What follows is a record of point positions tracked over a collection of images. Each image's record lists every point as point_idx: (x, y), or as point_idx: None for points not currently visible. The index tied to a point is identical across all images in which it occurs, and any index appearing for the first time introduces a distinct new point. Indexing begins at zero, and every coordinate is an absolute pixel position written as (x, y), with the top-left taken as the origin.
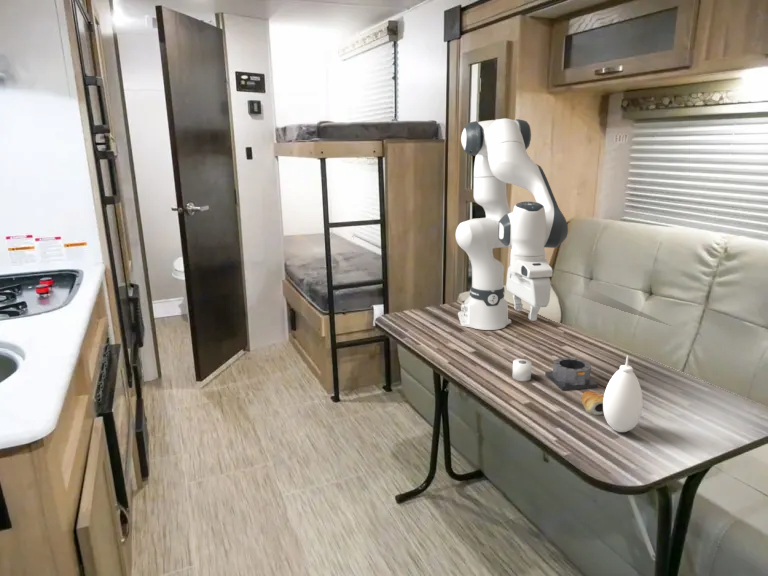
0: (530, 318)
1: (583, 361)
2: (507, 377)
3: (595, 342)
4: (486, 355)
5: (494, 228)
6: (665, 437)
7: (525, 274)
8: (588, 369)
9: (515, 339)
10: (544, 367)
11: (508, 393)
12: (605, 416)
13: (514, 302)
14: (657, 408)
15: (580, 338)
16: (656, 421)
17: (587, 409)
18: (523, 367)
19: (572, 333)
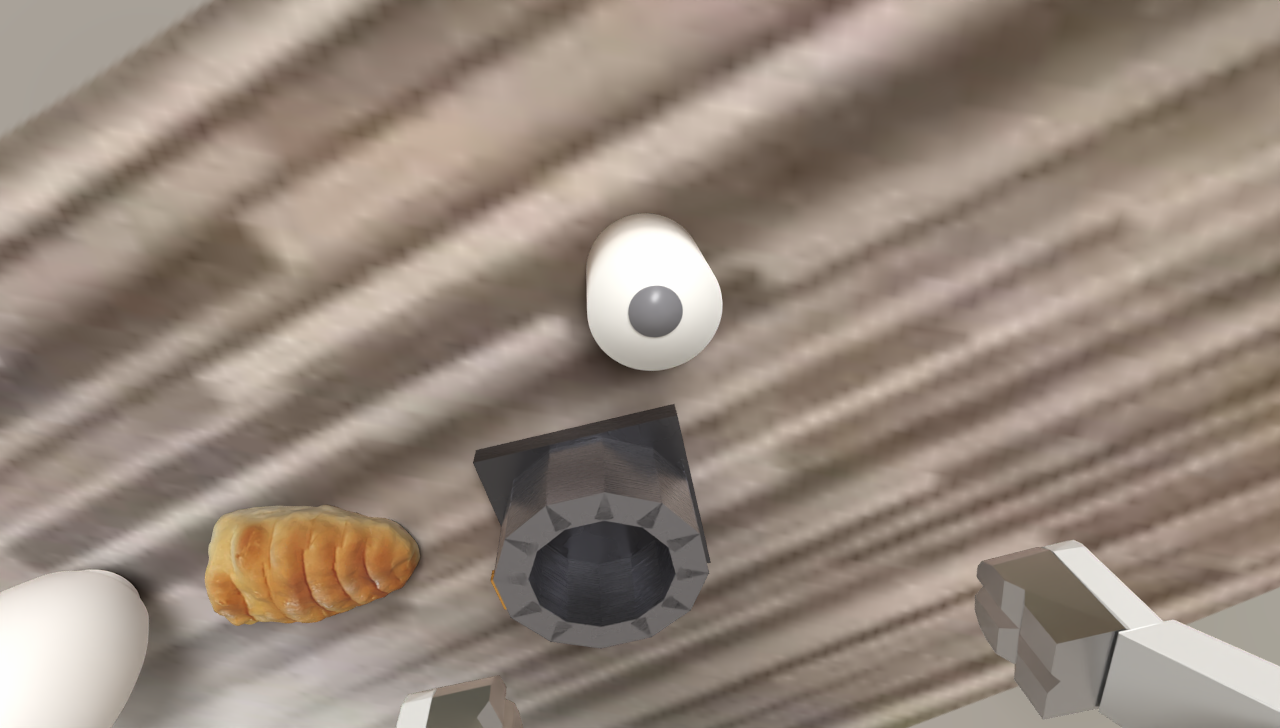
0: (399, 719)
1: (645, 626)
2: (639, 178)
3: None
4: (1050, 72)
5: None
6: None
7: None
8: (532, 630)
9: (1249, 324)
10: (783, 416)
11: (376, 145)
12: (16, 591)
13: (1183, 637)
14: (371, 715)
15: None
16: (252, 694)
17: (220, 520)
18: (587, 305)
19: (1190, 600)
